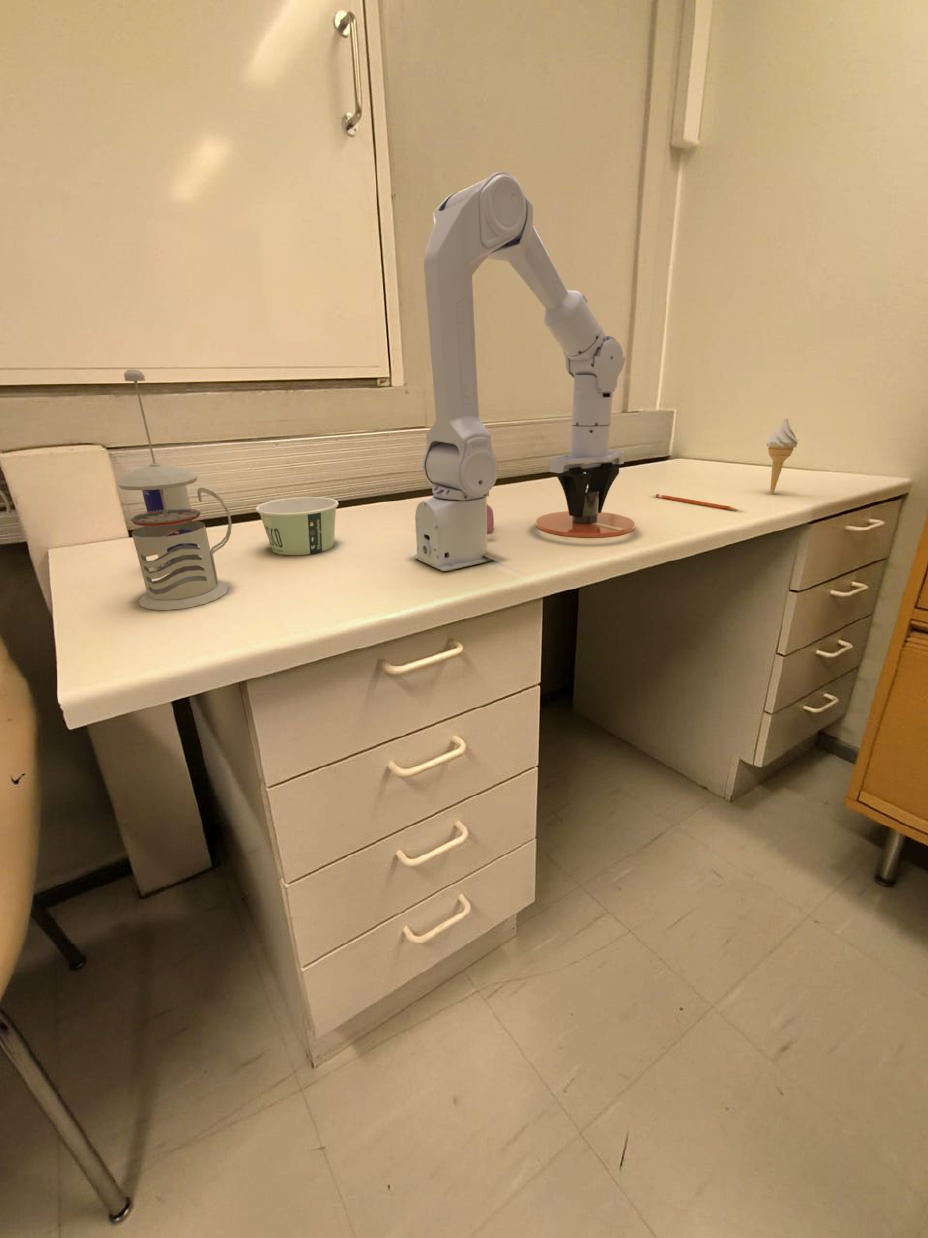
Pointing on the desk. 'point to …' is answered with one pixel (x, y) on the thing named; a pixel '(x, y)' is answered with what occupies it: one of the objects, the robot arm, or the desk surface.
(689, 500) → the pencil
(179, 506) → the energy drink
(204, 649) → the desk surface
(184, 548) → the french press
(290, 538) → the food container
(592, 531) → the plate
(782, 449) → the ice cream cone
